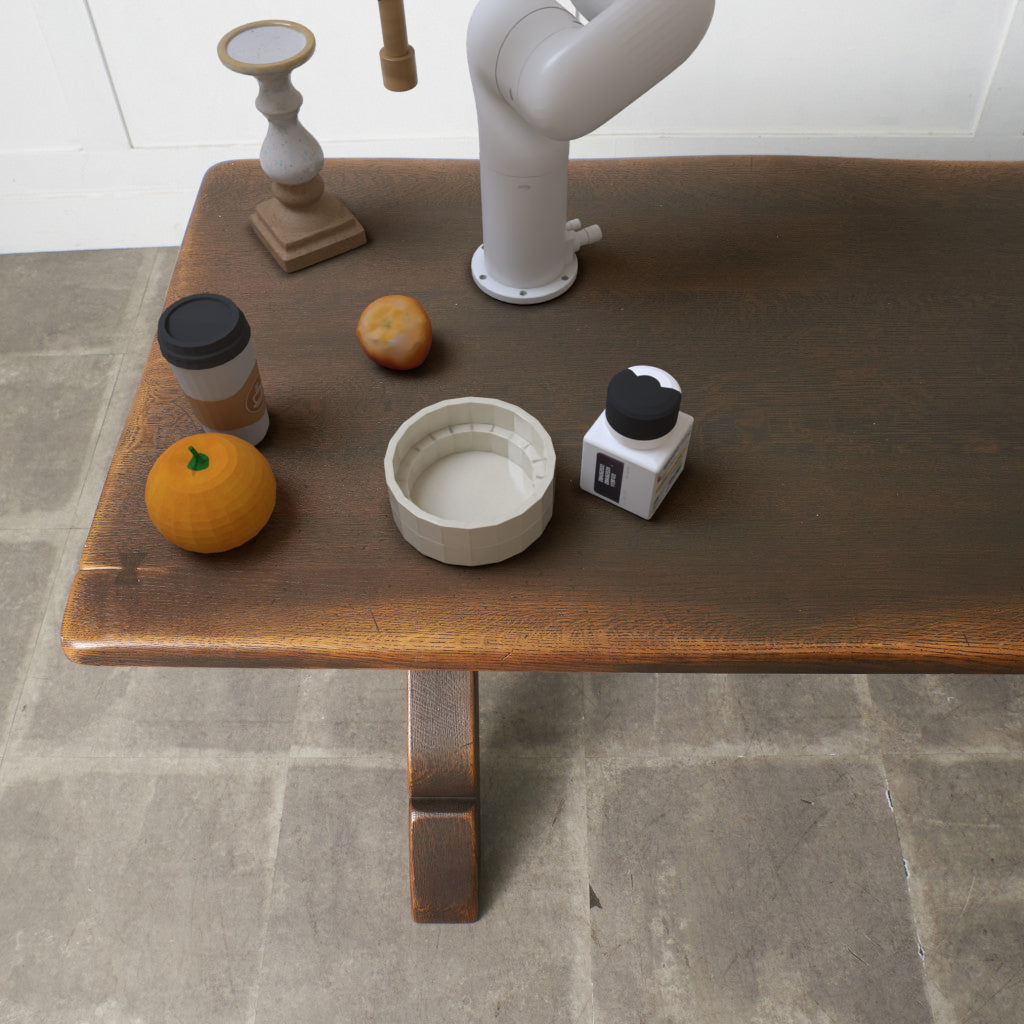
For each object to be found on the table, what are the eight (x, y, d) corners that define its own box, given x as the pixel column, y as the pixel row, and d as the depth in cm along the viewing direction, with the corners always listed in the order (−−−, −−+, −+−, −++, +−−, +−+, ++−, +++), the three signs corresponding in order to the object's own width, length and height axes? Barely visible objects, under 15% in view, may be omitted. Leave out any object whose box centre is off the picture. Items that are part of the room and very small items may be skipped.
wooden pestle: (407, 70, 88) (388, -96, 76) (424, 85, 86) (407, -83, 75) (377, 80, 87) (353, -87, 75) (393, 96, 85) (371, -73, 74)
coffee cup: (263, 466, 94) (224, 357, 82) (185, 454, 95) (135, 344, 83) (291, 406, 98) (258, 295, 86) (217, 395, 99) (174, 284, 87)
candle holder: (286, 274, 111) (236, 80, 92) (250, 227, 117) (196, 35, 98) (368, 242, 115) (336, 49, 95) (329, 198, 120) (292, 7, 101)
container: (648, 522, 89) (665, 431, 78) (578, 489, 91) (585, 396, 81) (684, 468, 93) (704, 375, 82) (615, 438, 95) (626, 343, 85)
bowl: (506, 420, 97) (505, 376, 92) (583, 527, 89) (587, 485, 83) (367, 477, 93) (358, 433, 87) (435, 595, 84) (429, 554, 79)
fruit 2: (452, 318, 104) (433, 294, 96) (432, 386, 104) (411, 366, 96) (385, 303, 106) (361, 278, 98) (365, 370, 105) (340, 349, 97)
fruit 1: (135, 547, 88) (96, 481, 80) (202, 457, 94) (171, 387, 86) (245, 583, 85) (215, 518, 77) (305, 488, 92) (284, 419, 84)
